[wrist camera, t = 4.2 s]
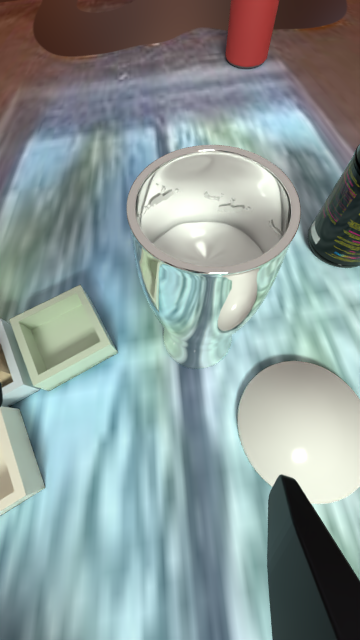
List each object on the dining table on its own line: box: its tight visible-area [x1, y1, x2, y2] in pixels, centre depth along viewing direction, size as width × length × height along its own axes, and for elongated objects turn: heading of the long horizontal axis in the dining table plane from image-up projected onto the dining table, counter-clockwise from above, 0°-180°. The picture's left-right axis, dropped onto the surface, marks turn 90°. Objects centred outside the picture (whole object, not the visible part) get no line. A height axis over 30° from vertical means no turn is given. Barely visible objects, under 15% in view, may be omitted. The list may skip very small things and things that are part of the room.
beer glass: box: [127, 145, 301, 369], centre depth 17 cm, size 7×7×15 cm
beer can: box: [226, 0, 279, 69], centre depth 37 cm, size 7×7×12 cm
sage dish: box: [9, 285, 118, 391], centre depth 23 cm, size 6×6×2 cm
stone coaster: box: [237, 361, 360, 504], centre depth 20 cm, size 10×10×1 cm
